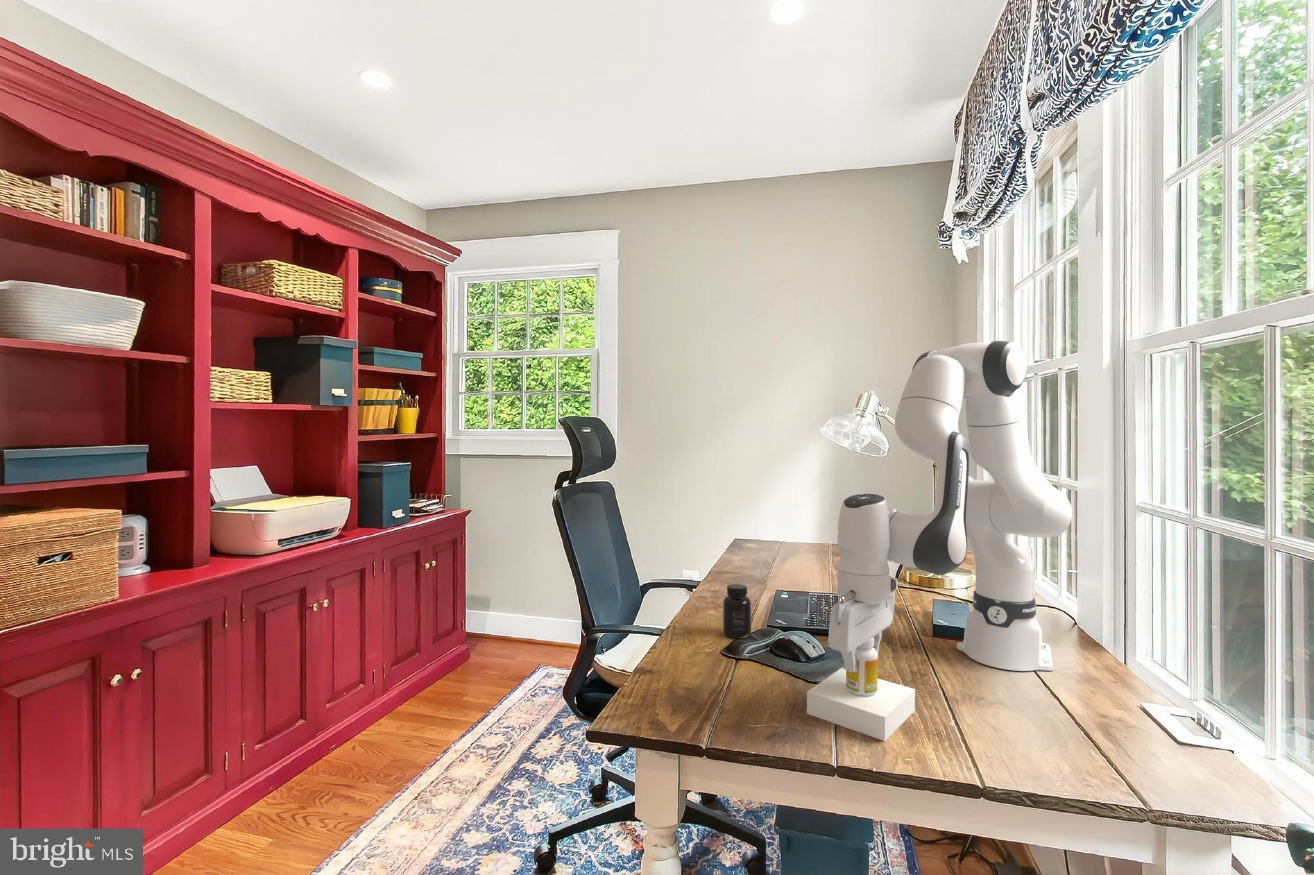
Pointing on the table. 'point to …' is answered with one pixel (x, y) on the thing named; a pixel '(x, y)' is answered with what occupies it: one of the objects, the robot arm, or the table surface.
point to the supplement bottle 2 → (864, 671)
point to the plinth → (861, 706)
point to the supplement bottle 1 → (736, 612)
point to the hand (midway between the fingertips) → (861, 662)
